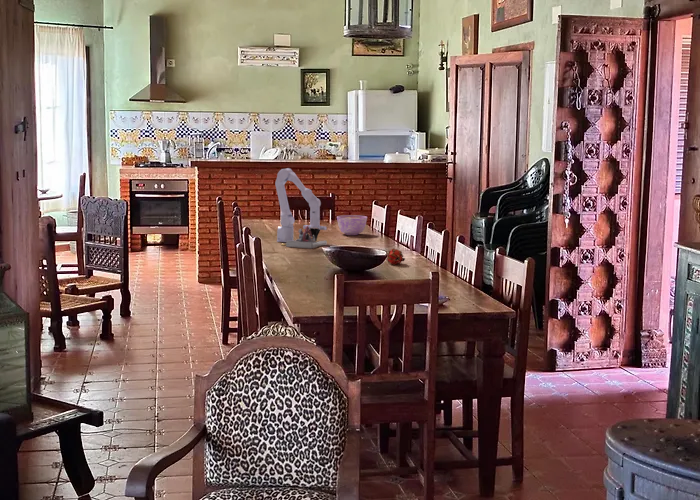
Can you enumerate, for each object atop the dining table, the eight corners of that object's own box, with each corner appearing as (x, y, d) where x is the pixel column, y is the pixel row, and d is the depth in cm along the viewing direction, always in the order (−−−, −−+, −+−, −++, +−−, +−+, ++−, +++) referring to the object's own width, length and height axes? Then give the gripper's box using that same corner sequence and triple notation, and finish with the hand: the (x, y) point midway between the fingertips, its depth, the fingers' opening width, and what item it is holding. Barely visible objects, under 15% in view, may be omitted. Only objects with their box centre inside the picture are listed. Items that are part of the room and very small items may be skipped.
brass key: (283, 246, 497) (283, 244, 497) (280, 245, 499) (280, 244, 499) (291, 245, 502) (291, 243, 502) (288, 244, 504) (288, 242, 504)
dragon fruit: (393, 264, 445) (398, 272, 434) (381, 255, 443) (386, 262, 431) (403, 252, 444) (409, 259, 433) (391, 243, 441) (396, 249, 430)
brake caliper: (313, 242, 497) (302, 225, 498) (300, 252, 501) (289, 235, 503) (321, 239, 507) (310, 223, 509) (308, 249, 511) (297, 233, 513)
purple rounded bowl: (331, 235, 548) (331, 217, 546) (343, 231, 566) (343, 214, 565) (360, 237, 541) (360, 219, 539) (371, 233, 559) (371, 216, 557)
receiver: (283, 246, 495) (283, 240, 494) (297, 242, 512) (297, 236, 511) (314, 248, 487) (314, 242, 487) (327, 244, 505) (327, 238, 504)
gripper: (301, 218, 508) (300, 241, 510) (323, 220, 503) (323, 242, 505) (306, 217, 515) (305, 239, 517) (328, 218, 510) (327, 241, 512)
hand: (314, 241), depth 511 cm, fingers closed
